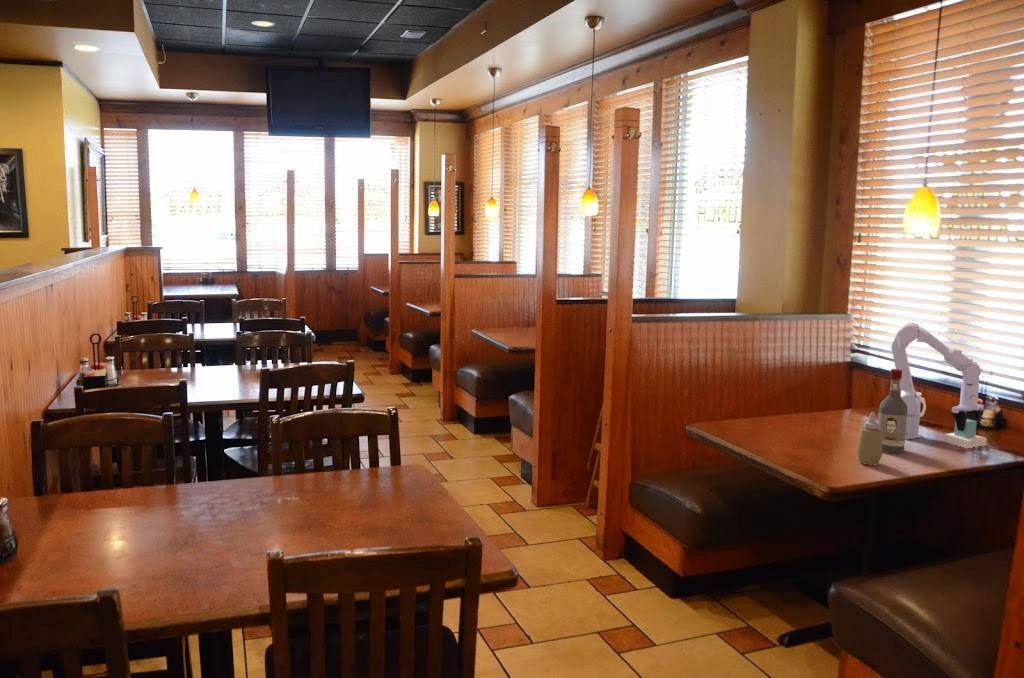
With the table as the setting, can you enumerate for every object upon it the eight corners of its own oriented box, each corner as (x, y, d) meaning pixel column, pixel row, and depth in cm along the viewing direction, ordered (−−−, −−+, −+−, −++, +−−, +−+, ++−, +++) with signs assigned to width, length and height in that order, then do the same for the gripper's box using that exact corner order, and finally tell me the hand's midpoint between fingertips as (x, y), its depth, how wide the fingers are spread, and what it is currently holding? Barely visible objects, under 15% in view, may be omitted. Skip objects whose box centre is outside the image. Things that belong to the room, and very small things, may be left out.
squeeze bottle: (884, 463, 278) (889, 412, 275) (877, 468, 272) (881, 416, 269) (860, 458, 283) (864, 408, 280) (852, 463, 277) (856, 412, 274)
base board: (967, 448, 296) (968, 440, 296) (943, 441, 306) (944, 434, 305) (985, 445, 300) (986, 438, 300) (961, 439, 309) (962, 431, 309)
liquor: (877, 445, 299) (883, 366, 295) (904, 449, 295) (910, 369, 291) (875, 451, 291) (881, 370, 287) (903, 455, 287) (910, 373, 283)
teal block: (966, 437, 299) (967, 422, 299) (954, 434, 304) (955, 419, 303) (975, 436, 301) (976, 421, 301) (963, 433, 306) (964, 418, 305)
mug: (897, 419, 340) (900, 391, 338) (908, 418, 342) (911, 390, 340) (918, 425, 330) (921, 396, 329) (929, 423, 333) (932, 395, 331)
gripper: (965, 398, 294) (962, 434, 296) (992, 395, 299) (988, 430, 301) (948, 394, 300) (945, 429, 302) (975, 391, 306) (971, 426, 308)
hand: (965, 429), depth 302 cm, fingers open, 5 cm apart
